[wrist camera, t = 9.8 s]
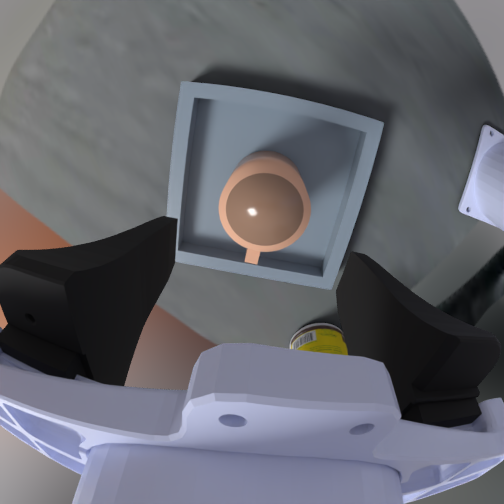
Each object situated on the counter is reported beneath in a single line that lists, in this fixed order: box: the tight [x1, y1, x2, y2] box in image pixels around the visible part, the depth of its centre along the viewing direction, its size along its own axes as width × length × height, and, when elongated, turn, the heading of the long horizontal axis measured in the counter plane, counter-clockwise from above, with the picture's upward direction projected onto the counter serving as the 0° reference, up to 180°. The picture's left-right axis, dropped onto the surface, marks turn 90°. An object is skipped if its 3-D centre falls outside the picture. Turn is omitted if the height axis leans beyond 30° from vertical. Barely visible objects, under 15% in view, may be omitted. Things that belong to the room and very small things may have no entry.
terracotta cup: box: [219, 151, 311, 264], centre depth 19 cm, size 5×6×5 cm
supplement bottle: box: [290, 323, 348, 355], centre depth 24 cm, size 6×6×10 cm
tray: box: [167, 81, 384, 290], centre depth 20 cm, size 13×13×2 cm
